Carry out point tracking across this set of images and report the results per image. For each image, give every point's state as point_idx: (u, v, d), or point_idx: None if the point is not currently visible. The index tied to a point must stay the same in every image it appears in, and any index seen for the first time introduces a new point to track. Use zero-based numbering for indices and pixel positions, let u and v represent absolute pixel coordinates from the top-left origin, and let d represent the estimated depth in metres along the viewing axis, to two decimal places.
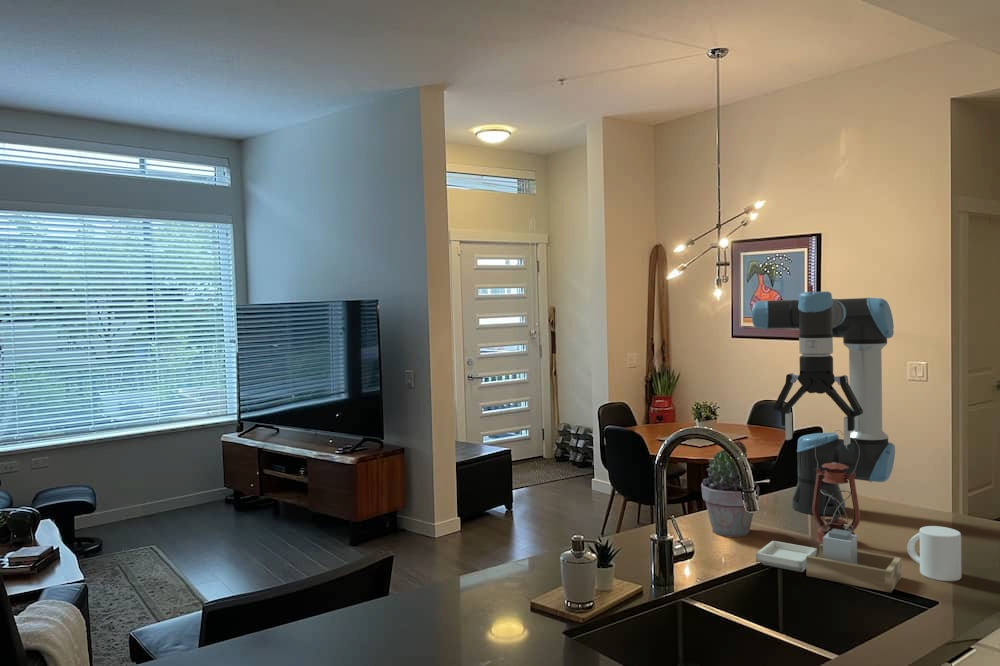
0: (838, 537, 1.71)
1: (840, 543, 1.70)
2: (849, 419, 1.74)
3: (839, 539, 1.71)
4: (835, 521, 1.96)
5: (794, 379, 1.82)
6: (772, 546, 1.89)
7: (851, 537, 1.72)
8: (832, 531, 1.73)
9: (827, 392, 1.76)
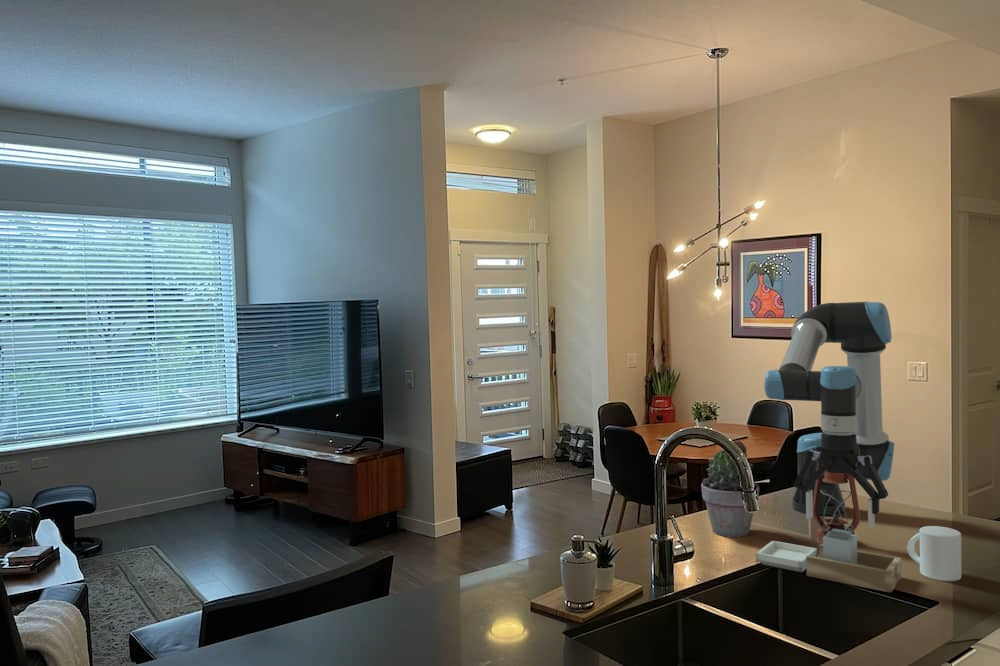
0: (838, 537, 1.71)
1: (840, 543, 1.70)
2: (873, 502, 1.67)
3: (839, 539, 1.71)
4: (835, 521, 1.96)
5: (815, 456, 1.75)
6: (772, 546, 1.89)
7: (851, 537, 1.72)
8: (832, 531, 1.73)
9: (850, 472, 1.69)
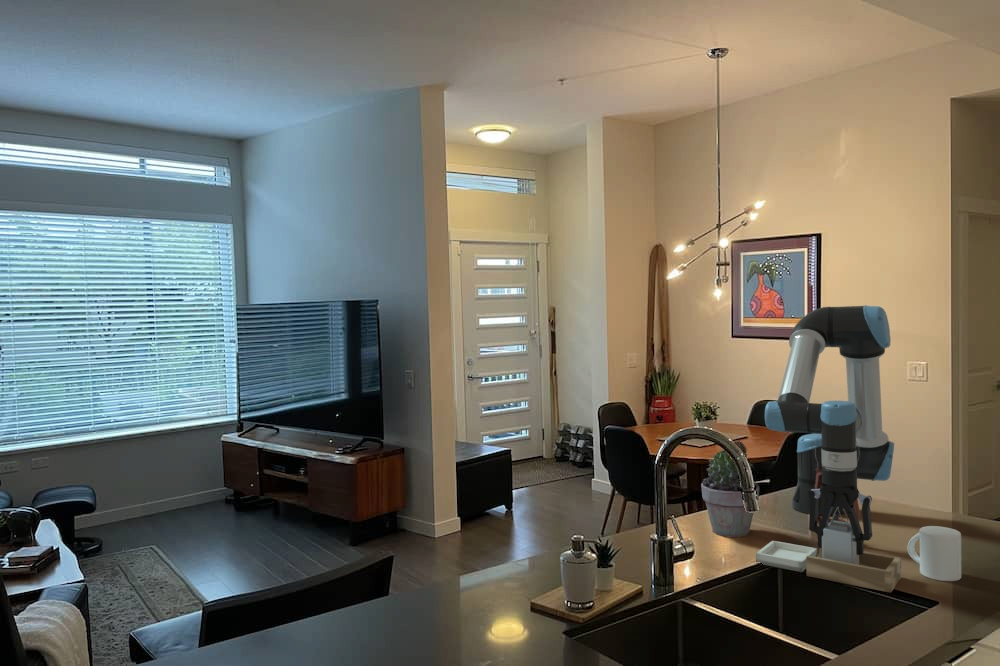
0: (838, 529, 1.72)
1: (840, 535, 1.70)
2: (857, 543, 1.70)
3: (839, 531, 1.71)
4: None
5: (817, 494, 1.75)
6: (772, 546, 1.89)
7: (851, 529, 1.72)
8: (832, 523, 1.74)
9: (846, 509, 1.70)
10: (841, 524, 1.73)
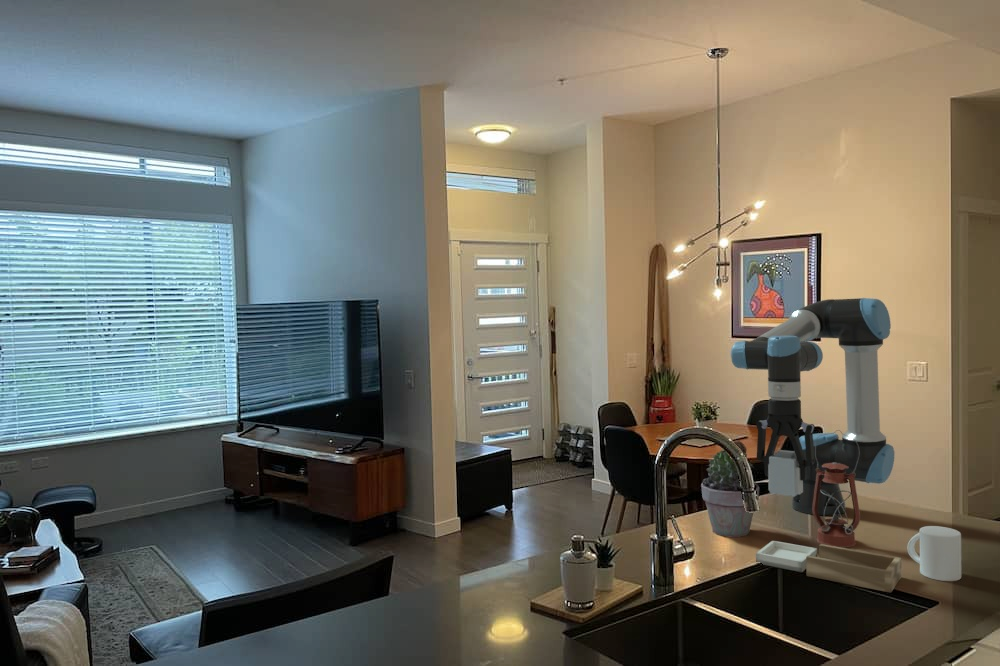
0: (783, 456, 1.81)
1: (784, 462, 1.79)
2: (801, 469, 1.79)
3: (784, 458, 1.80)
4: (835, 521, 1.96)
5: (764, 424, 1.84)
6: (772, 546, 1.89)
7: None
8: (778, 451, 1.83)
9: (790, 437, 1.79)
10: (786, 452, 1.82)
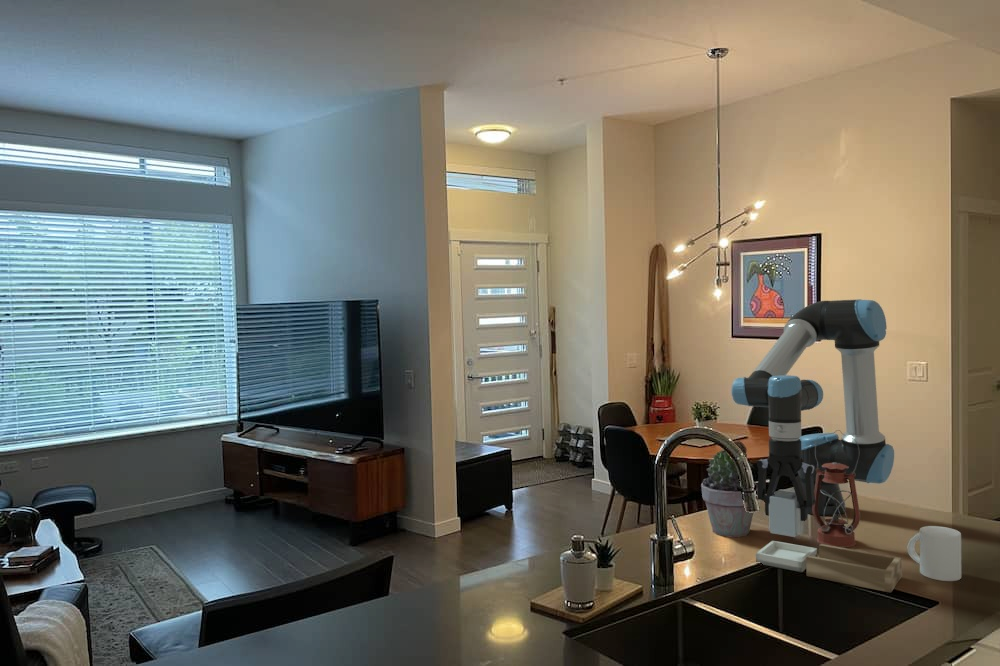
0: (784, 496, 1.81)
1: (785, 502, 1.80)
2: (801, 510, 1.79)
3: (784, 498, 1.80)
4: (835, 521, 1.96)
5: (765, 464, 1.85)
6: (772, 546, 1.89)
7: (796, 496, 1.81)
8: (778, 491, 1.83)
9: (791, 477, 1.80)
10: (786, 492, 1.82)
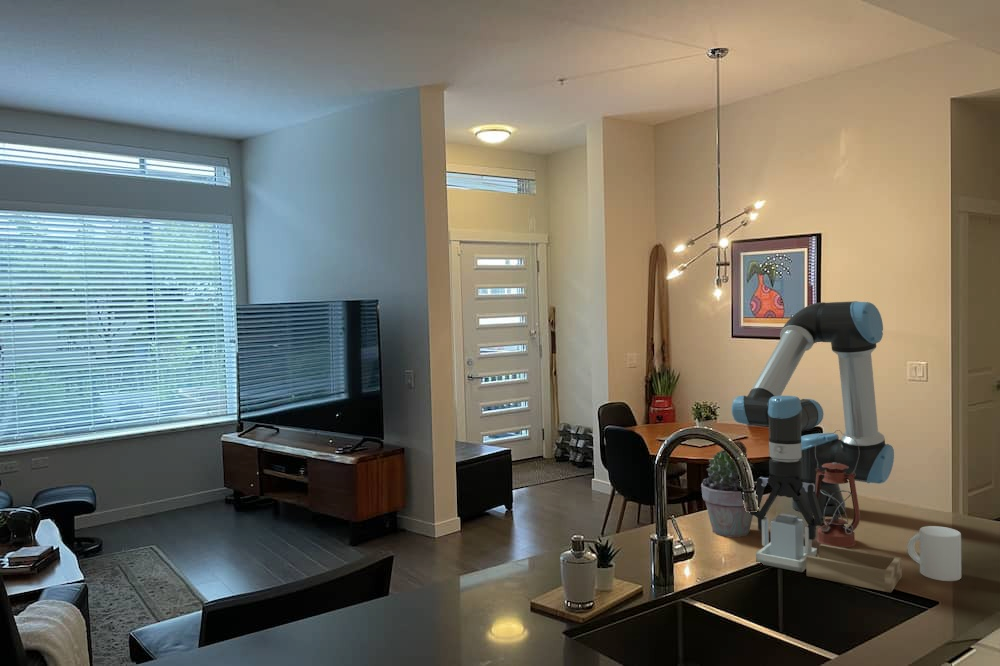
0: (784, 521, 1.81)
1: (786, 527, 1.80)
2: (810, 528, 1.78)
3: (785, 523, 1.81)
4: (835, 521, 1.96)
5: (764, 482, 1.85)
6: None
7: (797, 521, 1.82)
8: (779, 516, 1.83)
9: (793, 498, 1.80)
10: (787, 517, 1.82)
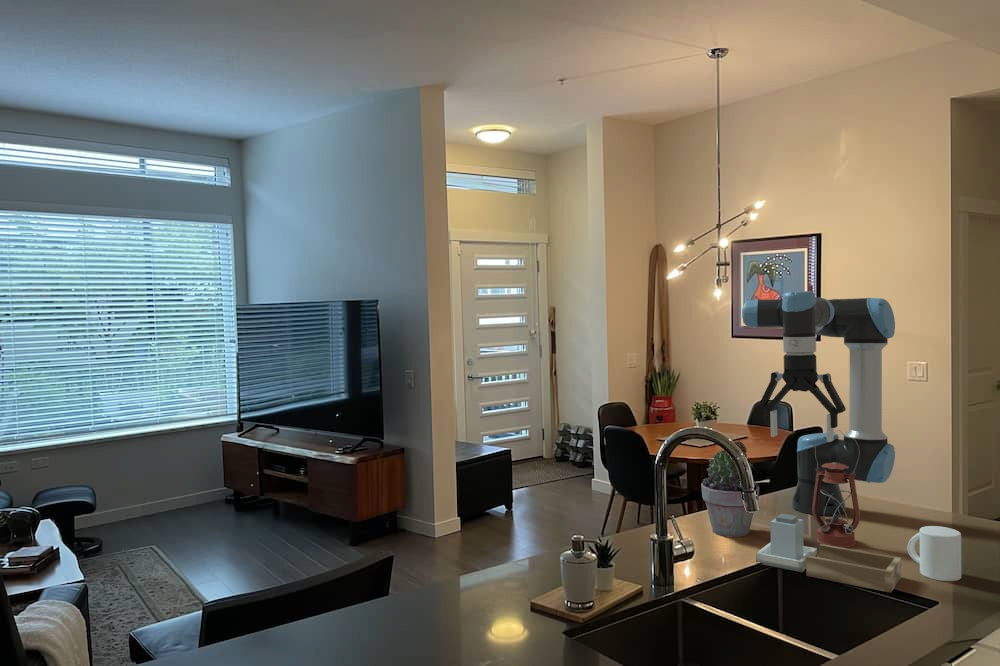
0: (784, 521, 1.81)
1: (786, 527, 1.80)
2: (832, 417, 1.78)
3: (785, 523, 1.81)
4: (835, 521, 1.96)
5: (779, 377, 1.86)
6: None
7: (797, 521, 1.82)
8: (779, 516, 1.83)
9: (810, 390, 1.80)
10: (787, 517, 1.82)
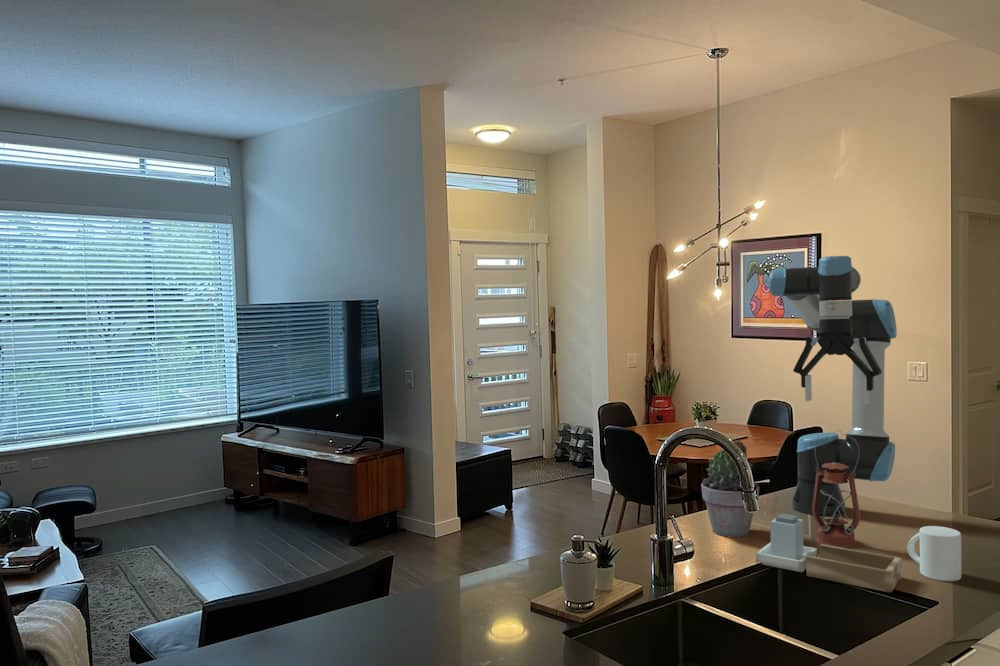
0: (784, 521, 1.81)
1: (786, 527, 1.80)
2: (868, 379, 1.80)
3: (785, 523, 1.81)
4: (835, 521, 1.96)
5: (814, 342, 1.88)
6: None
7: (797, 521, 1.82)
8: (779, 516, 1.83)
9: (846, 353, 1.82)
10: (787, 517, 1.82)
